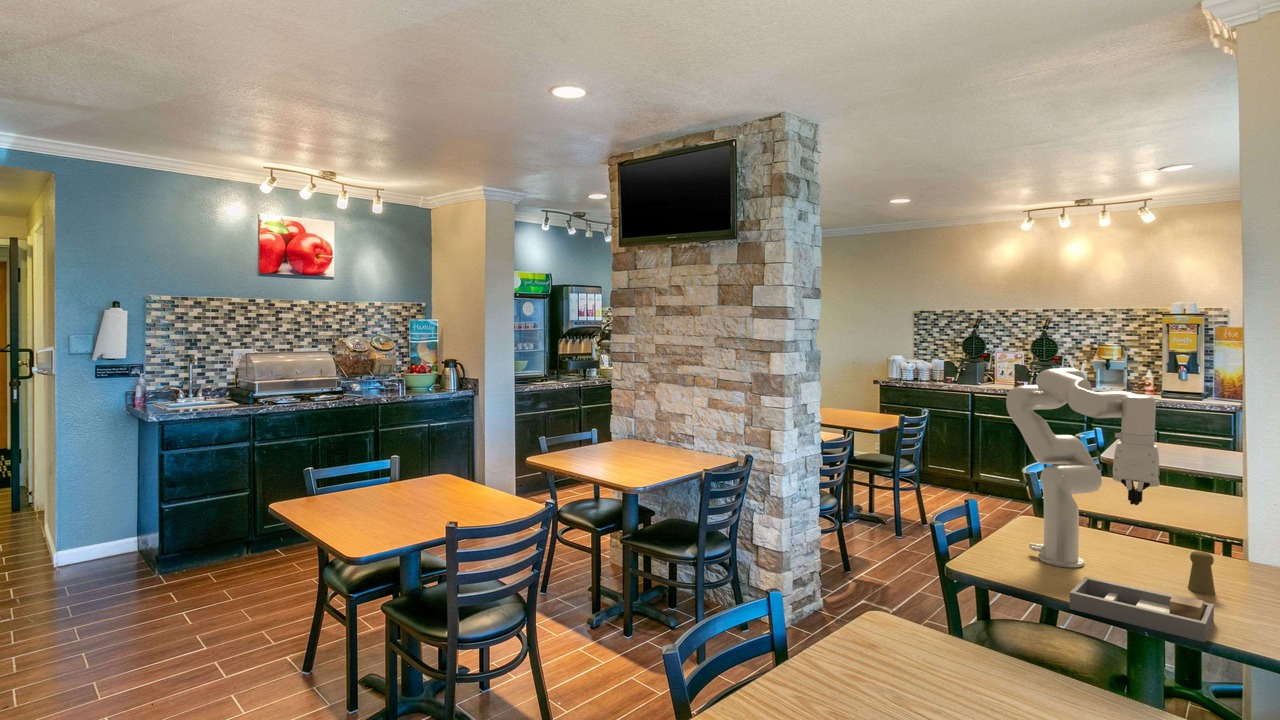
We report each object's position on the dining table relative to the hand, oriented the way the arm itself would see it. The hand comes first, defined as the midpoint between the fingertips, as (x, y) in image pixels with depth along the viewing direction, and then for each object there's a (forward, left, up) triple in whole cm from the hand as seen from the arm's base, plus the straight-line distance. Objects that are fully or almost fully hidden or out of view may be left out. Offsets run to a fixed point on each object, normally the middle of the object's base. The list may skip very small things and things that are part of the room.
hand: (1134, 503), depth 187 cm
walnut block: (+13, -16, -24) cm, 32 cm away
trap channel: (+4, -15, -26) cm, 30 cm away
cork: (+13, +17, -26) cm, 33 cm away
